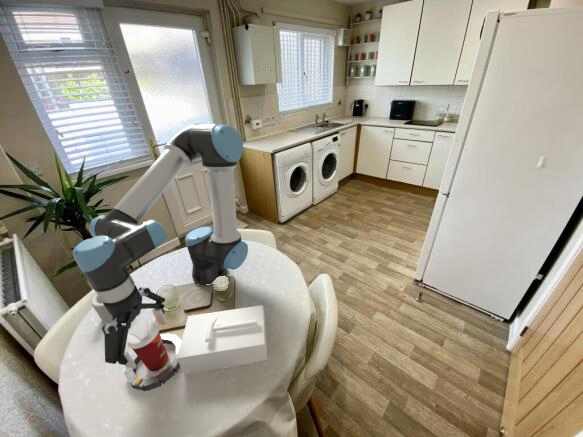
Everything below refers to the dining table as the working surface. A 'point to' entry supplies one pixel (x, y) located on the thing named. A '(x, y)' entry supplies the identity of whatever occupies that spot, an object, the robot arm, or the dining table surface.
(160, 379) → the grey stone ring
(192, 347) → the white hammer box
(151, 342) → the coffee cup
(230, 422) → the dining table surface
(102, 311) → the mug
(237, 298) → the dining table surface
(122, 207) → the robot arm
